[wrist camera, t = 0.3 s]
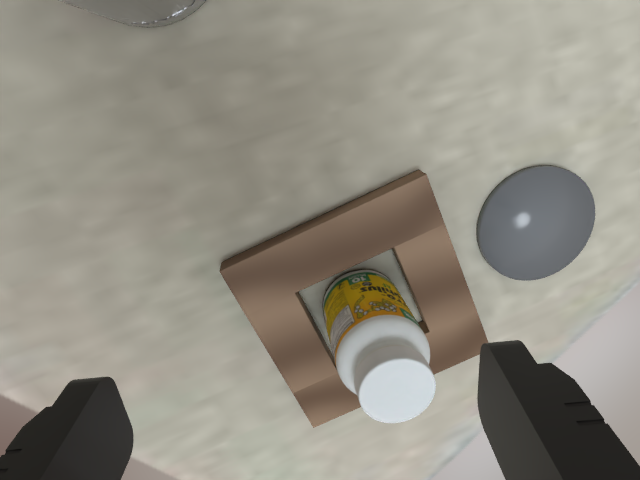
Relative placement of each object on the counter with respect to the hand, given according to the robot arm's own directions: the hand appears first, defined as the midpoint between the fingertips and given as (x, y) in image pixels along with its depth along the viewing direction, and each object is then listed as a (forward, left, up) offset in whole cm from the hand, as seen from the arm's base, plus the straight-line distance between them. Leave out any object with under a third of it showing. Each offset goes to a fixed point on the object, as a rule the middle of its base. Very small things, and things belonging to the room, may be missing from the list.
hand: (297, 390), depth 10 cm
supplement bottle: (+10, +1, -20) cm, 22 cm away
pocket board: (+10, +1, -19) cm, 22 cm away
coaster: (+10, +14, -19) cm, 26 cm away
